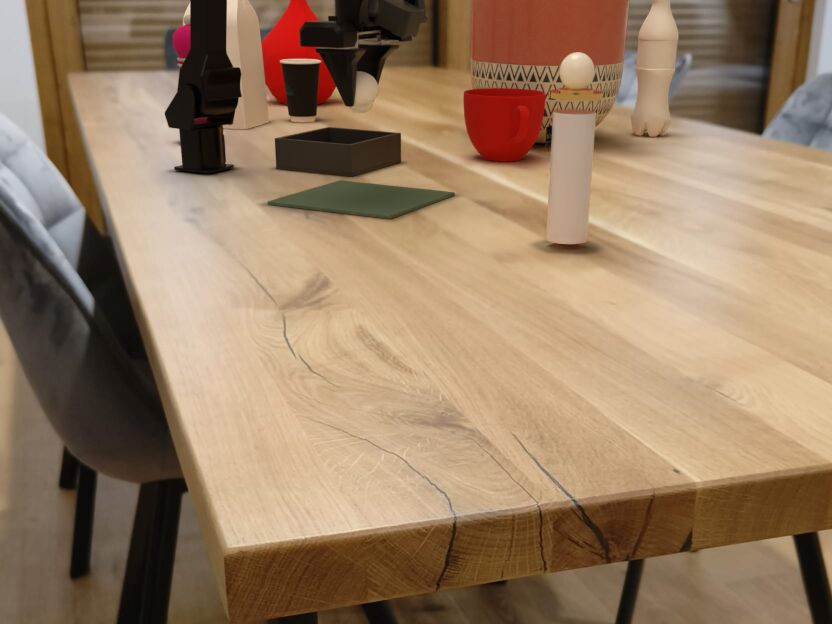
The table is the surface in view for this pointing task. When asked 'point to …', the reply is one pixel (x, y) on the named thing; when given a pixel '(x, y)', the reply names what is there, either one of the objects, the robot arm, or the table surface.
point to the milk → (246, 63)
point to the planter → (548, 48)
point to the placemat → (362, 199)
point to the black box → (338, 151)
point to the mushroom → (364, 92)
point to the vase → (292, 51)
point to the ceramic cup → (503, 121)
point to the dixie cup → (301, 88)
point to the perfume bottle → (571, 154)
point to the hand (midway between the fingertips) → (359, 104)
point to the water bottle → (655, 70)
